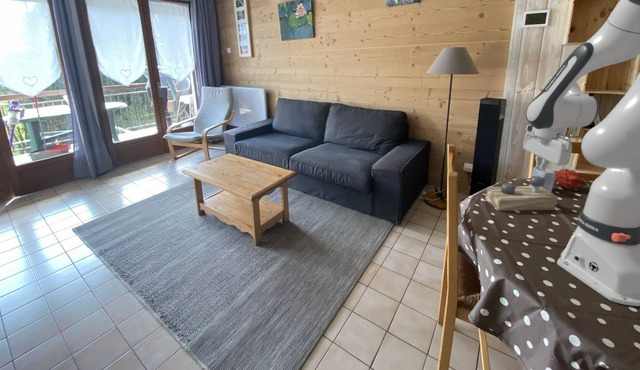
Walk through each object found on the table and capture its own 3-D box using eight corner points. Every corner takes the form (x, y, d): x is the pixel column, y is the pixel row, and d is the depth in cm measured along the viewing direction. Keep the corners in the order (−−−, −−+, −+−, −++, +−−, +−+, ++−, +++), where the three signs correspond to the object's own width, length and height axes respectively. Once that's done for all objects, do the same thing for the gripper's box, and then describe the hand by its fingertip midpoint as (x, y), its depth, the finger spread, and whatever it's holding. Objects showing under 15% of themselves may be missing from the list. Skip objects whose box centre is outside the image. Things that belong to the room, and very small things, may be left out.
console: (554, 209, 114) (558, 196, 112) (498, 210, 115) (500, 197, 113) (537, 197, 124) (540, 185, 122) (485, 198, 124) (487, 187, 122)
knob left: (514, 205, 117) (518, 187, 114) (502, 205, 117) (506, 187, 114) (507, 200, 121) (511, 183, 118) (496, 200, 121) (499, 183, 118)
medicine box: (551, 193, 127) (556, 172, 124) (539, 193, 127) (545, 173, 124) (539, 185, 134) (544, 166, 131) (528, 186, 135) (533, 166, 131)
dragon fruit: (550, 185, 138) (579, 199, 129) (544, 178, 133) (574, 192, 124) (564, 169, 137) (594, 182, 127) (559, 161, 132) (590, 174, 122)
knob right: (543, 198, 116) (548, 180, 113) (531, 199, 116) (535, 180, 113) (535, 193, 120) (540, 175, 117) (524, 194, 120) (528, 176, 117)
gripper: (582, 138, 99) (569, 179, 104) (541, 124, 118) (532, 159, 123) (562, 138, 99) (550, 180, 104) (523, 124, 118) (515, 160, 123)
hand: (540, 169), depth 114 cm, fingers closed
